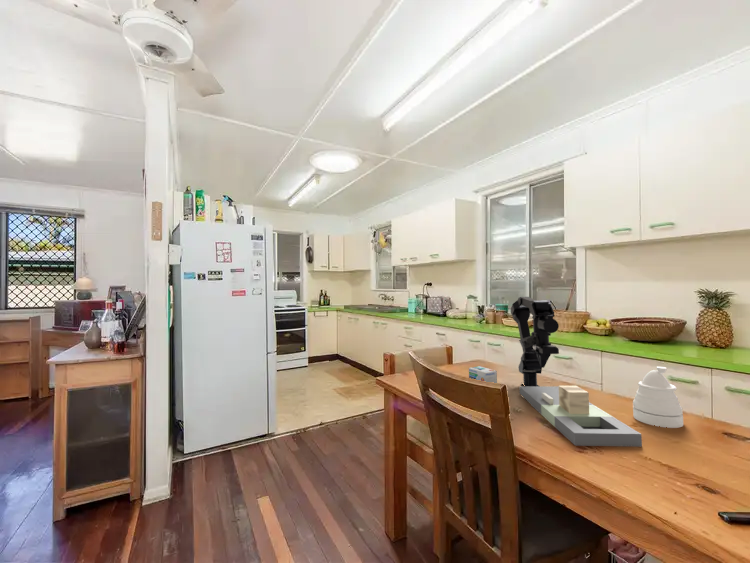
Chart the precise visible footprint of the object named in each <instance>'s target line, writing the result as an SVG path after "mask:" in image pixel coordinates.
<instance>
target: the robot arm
mask: <svg viewBox="0 0 750 563" xmlns="http://www.w3.org/2000/svg"><path fill="white" fill-rule="evenodd" d="M510 315H511V316H512V319H513V321H514V322H515V323H516V324H517V327H518V328H517V329H518V332H519V337H520V339H519V340H518V341H519V343H520V345H521V348H522V354H521V356H520V362H519V364H518V372H519V373H520V374H522V376H523V377H522V378H523V379H522V380H523V381H522V382H523V383H524V385H525V386H540V385H538V375H537V374H542V371H543V370H542V369H543V368H545V367H546V365H547V363H548V361H549V358H550V357H551V355H559V354H560V352H559V350H560V349H559V347H557V346H555V345H553V344H552V343H551V342H550V336H551V334H554V333H556V332H557V331H558V329H559V323H558V321H557V320H556V319H555V318H554V317H555V310H554V308H553V306H552V305H551V303H550V301H549V300H547V299H544V300H542V299H541V300H537V299H534V298H532V297H531V296H519V297H518V299H517V300H516V301H514V302H513V303H512V305H511V307H510ZM531 315H532V316H531ZM530 318H532V327H533V331H530V327H529V322H528V321H529V319H530Z"/></svg>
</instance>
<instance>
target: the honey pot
mask: <svg viewBox="0 0 750 563" xmlns="http://www.w3.org/2000/svg"><path fill="white" fill-rule="evenodd" d="M667 369H668V368H667V367H666V366H656V369H652V370H649V371H648V372H647V373H646V374H645V375H644V376H643V378H642V381H641V380H640V381H639V382H638V383H637V385H638V388H637V390H636V392H635V393H636V394H635V396H634V399H633V400H632V412H633V413H632V414H633V418H634V419H635V420H637V421H638V422H641V423H643V424H646V425H650V426H654V425H655V426H654V427H659V426H660V428H666V427H667V428H668V429H677V428H681V427H684V415H683V413H684V412H683V411H684V410H683V407H682V406H681V404H680V400H678V399H679V397H678V396H677V394H676V393H675V391H677V389H678V388H677V386H675V385H674V384H671V383H670V382H669V380H668V378H667V377H666V376H665V375H664V374H665V373H666V372H667Z"/></svg>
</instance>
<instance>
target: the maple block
mask: <svg viewBox="0 0 750 563" xmlns="http://www.w3.org/2000/svg"><path fill="white" fill-rule="evenodd" d="M558 386H559V406H561V407H562V408H563V409H565V410H566V411H567V412H569V413H570V414H589V402H590V398H589V392H588V391H587V390H585V389H583V388H581V386H580V387H579V386H578V385H558Z"/></svg>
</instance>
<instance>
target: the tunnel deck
mask: <svg viewBox="0 0 750 563" xmlns="http://www.w3.org/2000/svg"><path fill="white" fill-rule="evenodd" d="M559 386H560V385H558V386H554V385H553V386H551V385H550V386H544V385H543V386H540V385H539V386H523V385H522V386H519V395H520V394H521V395H522V396H523V397H524V398H525V399H526V400H527V401H528V402H529V403H530V404H531V405H530V404H529V403H528V402H527V401H526V400H525V399H524V398H523V397H522V396H521V395H520V396H521V397H522V398H523V399H524V400H525V401H526V402H527V403H528V404H529V405H530V406H531V407H533V408H534V409H535V410H536V411H537V412H538V413H539V414H540V415H541V416H542V417H543V418H544V419H546V420H547V421H548V422H549V423H550V424H551V425H552V426H553V427H555V429H556V430H558V431H559V433H561V434H562V435H563V436H564V437H565V438H566V439H568V441H570V442H571V444H573V445H574V446H576V447H577V446H578V447H579V446H587V447H588V446H590V447H591V446H593V447H596V446H597V447H641V448H642V447H643V442H642V441H643V440H642V433H641V432H639V431H637V430H636V429H634V428H632V427H630V426H629V425H627V424H626V423H624V422H622V421H621V420H620V419H617V418H616V417H614V416H613V415H611V414H609V413H608V412H606V410H605V411H604V410H603V409H601V408H599V407H598V406H596V405H595V404H593V403H591V402H590V401H589V414H570V413H569V412H567V411H566V410H565V409H563V408H562V407H561V406H559Z"/></svg>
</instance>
